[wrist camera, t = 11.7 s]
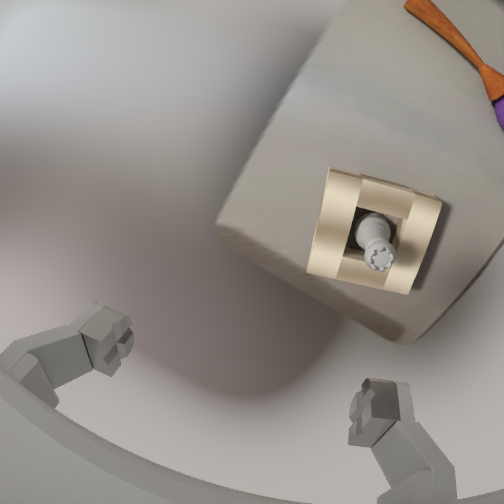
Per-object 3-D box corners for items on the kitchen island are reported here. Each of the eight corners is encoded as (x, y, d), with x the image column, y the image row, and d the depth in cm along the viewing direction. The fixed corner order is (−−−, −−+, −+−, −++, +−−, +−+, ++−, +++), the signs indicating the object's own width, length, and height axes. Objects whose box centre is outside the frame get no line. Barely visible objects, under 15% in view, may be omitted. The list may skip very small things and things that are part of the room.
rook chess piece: (396, 230, 33) (412, 261, 26) (368, 253, 35) (377, 288, 28) (373, 203, 32) (385, 229, 25) (345, 227, 34) (349, 258, 27)
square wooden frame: (329, 166, 32) (329, 171, 29) (433, 195, 30) (442, 202, 27) (308, 260, 37) (306, 272, 35) (403, 282, 35) (407, 295, 33)
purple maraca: (431, -23, 15) (552, 118, 16) (416, 0, 21) (525, 122, 22) (405, -3, 17) (535, 149, 18) (391, 21, 23) (506, 149, 24)
